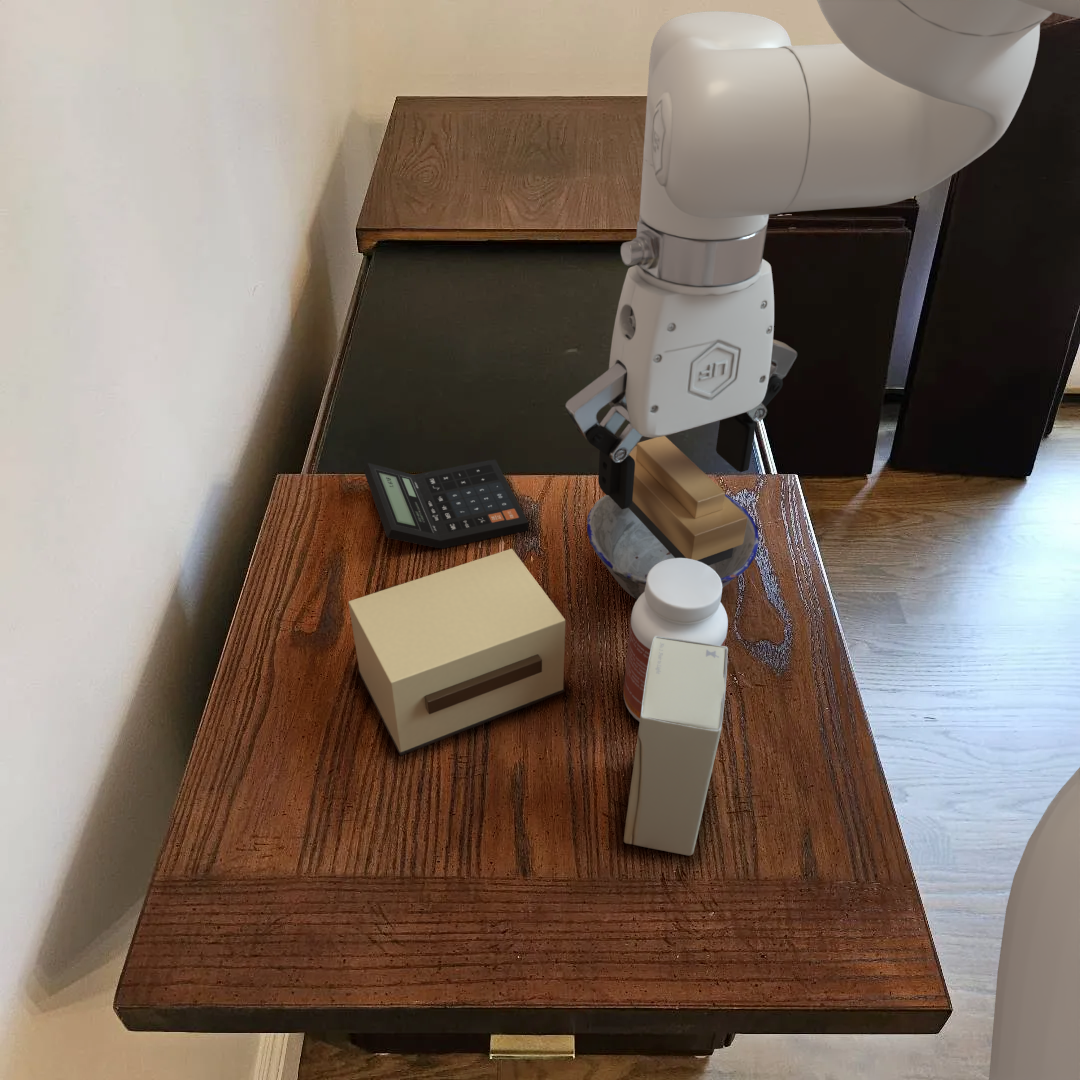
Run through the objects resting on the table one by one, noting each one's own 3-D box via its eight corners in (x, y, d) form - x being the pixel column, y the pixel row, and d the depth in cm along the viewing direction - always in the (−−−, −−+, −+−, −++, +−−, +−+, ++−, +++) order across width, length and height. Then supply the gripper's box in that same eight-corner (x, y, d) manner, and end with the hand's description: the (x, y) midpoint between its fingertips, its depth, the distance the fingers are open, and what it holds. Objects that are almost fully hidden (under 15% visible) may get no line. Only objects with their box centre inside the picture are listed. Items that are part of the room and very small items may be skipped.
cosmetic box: (636, 763, 64) (650, 631, 56) (705, 775, 64) (729, 642, 56) (622, 847, 60) (636, 715, 52) (696, 861, 59) (722, 730, 51)
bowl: (783, 605, 76) (793, 557, 72) (630, 652, 72) (634, 603, 69) (699, 507, 85) (705, 461, 82) (560, 543, 81) (561, 496, 78)
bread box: (568, 697, 69) (570, 625, 64) (403, 762, 64) (393, 690, 60) (513, 618, 74) (512, 547, 70) (358, 672, 70) (346, 600, 66)
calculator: (528, 530, 82) (528, 501, 80) (389, 559, 79) (386, 530, 77) (495, 467, 89) (494, 439, 87) (366, 491, 86) (362, 463, 84)
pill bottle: (663, 751, 65) (679, 632, 58) (604, 693, 69) (613, 573, 62) (732, 709, 68) (756, 590, 61) (672, 655, 72) (688, 536, 65)
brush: (740, 560, 72) (751, 500, 69) (688, 579, 71) (696, 518, 67) (659, 478, 80) (665, 421, 76) (610, 494, 78) (614, 436, 75)
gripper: (605, 299, 54) (594, 544, 65) (854, 243, 60) (806, 475, 71) (543, 250, 59) (542, 483, 70) (778, 202, 65) (743, 424, 76)
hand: (675, 479), depth 71 cm, fingers open, 9 cm apart
